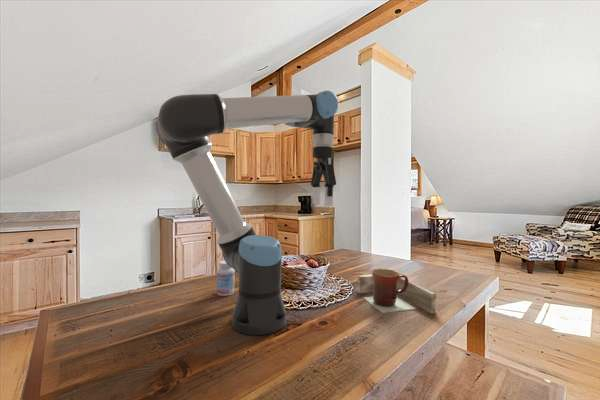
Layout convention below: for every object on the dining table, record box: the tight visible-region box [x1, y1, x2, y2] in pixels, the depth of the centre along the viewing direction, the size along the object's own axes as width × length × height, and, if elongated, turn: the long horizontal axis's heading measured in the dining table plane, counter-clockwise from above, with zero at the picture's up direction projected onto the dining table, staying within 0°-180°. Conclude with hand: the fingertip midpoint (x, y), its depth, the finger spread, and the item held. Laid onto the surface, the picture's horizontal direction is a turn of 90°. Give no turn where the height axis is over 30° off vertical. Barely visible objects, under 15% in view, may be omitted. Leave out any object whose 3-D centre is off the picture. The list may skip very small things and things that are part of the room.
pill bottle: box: [216, 259, 236, 297], centre depth 98 cm, size 6×6×11 cm
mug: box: [370, 268, 409, 307], centre depth 92 cm, size 12×9×10 cm
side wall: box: [357, 274, 373, 294], centre depth 103 cm, size 14×2×6 cm, turn 105°
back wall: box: [396, 277, 437, 314], centre depth 96 cm, size 2×21×6 cm, turn 15°
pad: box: [362, 295, 417, 314], centre depth 92 cm, size 12×12×1 cm
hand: (321, 205), depth 103 cm, fingers open, 13 cm apart
